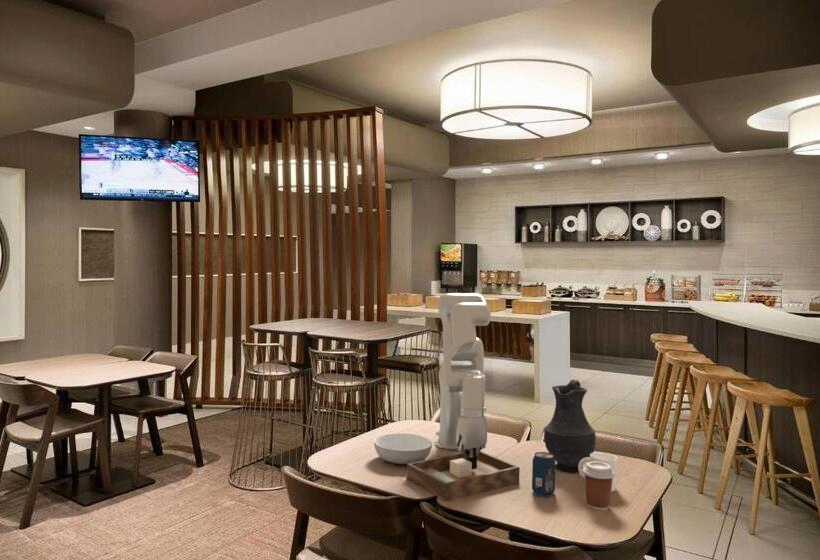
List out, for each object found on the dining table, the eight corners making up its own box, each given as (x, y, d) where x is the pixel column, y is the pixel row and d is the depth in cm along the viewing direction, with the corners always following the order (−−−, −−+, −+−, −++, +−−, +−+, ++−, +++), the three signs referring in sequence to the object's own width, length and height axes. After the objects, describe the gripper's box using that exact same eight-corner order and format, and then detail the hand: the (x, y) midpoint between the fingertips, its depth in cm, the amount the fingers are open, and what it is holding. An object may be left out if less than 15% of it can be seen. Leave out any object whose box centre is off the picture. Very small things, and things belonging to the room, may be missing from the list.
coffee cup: (607, 499, 174) (608, 460, 174) (619, 512, 165) (620, 470, 165) (577, 499, 174) (578, 460, 174) (587, 512, 165) (588, 470, 165)
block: (449, 472, 187) (450, 460, 187) (461, 470, 190) (462, 458, 190) (459, 477, 183) (459, 465, 183) (471, 474, 186) (471, 462, 186)
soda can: (538, 487, 183) (539, 449, 183) (558, 493, 179) (559, 454, 178) (527, 493, 178) (528, 454, 177) (548, 499, 173) (549, 460, 173)
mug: (574, 486, 184) (574, 454, 184) (581, 479, 191) (582, 448, 191) (612, 495, 178) (613, 462, 178) (619, 487, 185) (619, 455, 184)
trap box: (477, 463, 204) (477, 449, 204) (519, 482, 187) (519, 467, 187) (406, 478, 188) (407, 463, 188) (445, 501, 170) (445, 484, 170)
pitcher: (537, 471, 197) (539, 384, 197) (552, 455, 216) (554, 375, 215) (589, 481, 189) (592, 390, 189) (600, 463, 208) (602, 380, 207)
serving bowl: (408, 474, 192) (408, 454, 192) (361, 461, 205) (362, 441, 205) (443, 459, 209) (443, 440, 208) (397, 447, 221) (398, 429, 221)
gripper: (482, 407, 196) (481, 460, 196) (447, 412, 188) (446, 468, 188) (497, 412, 190) (496, 467, 190) (462, 417, 182) (461, 475, 182)
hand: (471, 467), depth 189 cm, fingers closed
